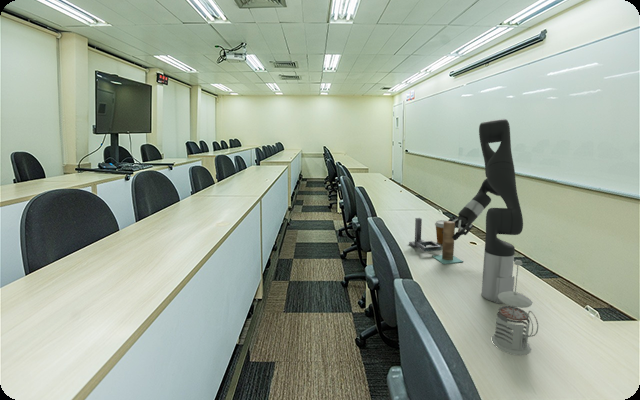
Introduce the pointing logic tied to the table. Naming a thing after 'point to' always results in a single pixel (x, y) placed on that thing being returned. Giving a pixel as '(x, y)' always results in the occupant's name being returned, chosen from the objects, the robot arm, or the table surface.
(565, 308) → the table surface
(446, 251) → the walnut rod
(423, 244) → the ring stand
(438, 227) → the disposable coffee cup
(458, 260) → the felt coaster
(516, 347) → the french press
